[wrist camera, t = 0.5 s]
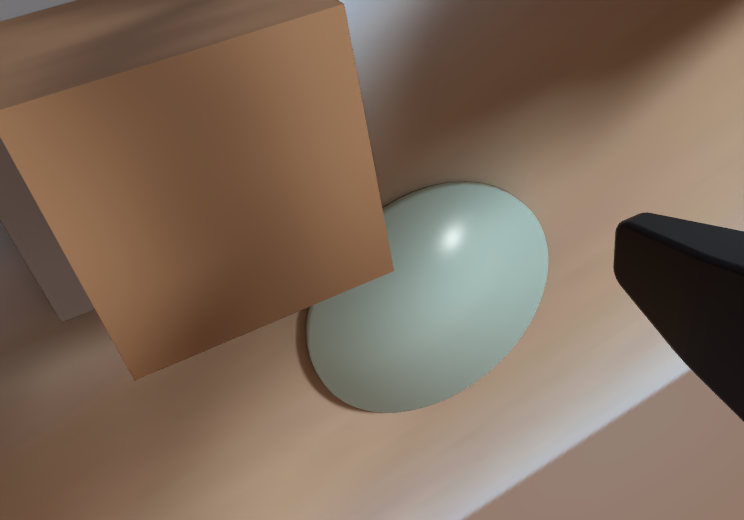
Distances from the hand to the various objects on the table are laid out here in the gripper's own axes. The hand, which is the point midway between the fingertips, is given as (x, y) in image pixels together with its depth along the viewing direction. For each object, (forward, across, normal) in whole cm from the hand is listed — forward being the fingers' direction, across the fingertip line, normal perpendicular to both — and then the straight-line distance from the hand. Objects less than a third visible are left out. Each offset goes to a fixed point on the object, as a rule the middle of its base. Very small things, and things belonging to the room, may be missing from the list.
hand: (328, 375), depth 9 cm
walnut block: (+11, 0, 0) cm, 11 cm away
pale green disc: (+12, -6, +11) cm, 17 cm away
